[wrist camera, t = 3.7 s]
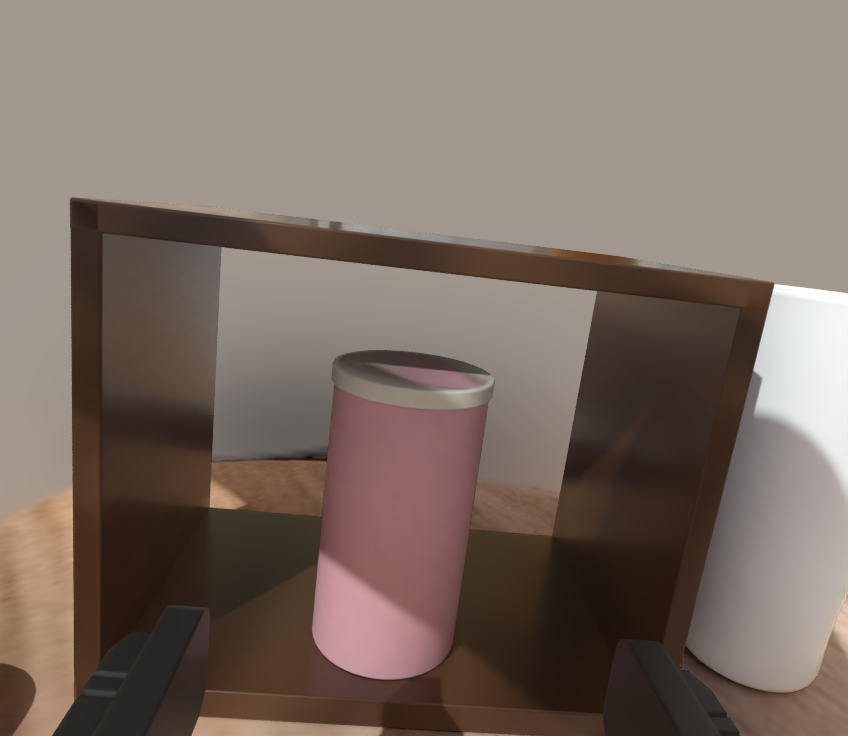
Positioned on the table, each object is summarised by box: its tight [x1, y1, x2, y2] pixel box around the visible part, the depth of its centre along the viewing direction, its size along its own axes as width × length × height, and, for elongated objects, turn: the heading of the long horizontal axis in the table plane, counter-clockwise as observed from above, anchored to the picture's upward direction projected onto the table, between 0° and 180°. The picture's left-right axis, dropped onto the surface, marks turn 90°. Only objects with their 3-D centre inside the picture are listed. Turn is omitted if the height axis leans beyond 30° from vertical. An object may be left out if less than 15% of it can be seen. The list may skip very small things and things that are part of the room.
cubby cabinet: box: [70, 198, 774, 736], centre depth 24 cm, size 19×12×15 cm, turn 93°
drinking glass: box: [686, 284, 848, 692], centre depth 24 cm, size 7×7×15 cm
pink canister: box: [312, 350, 495, 680], centre depth 22 cm, size 5×5×10 cm
